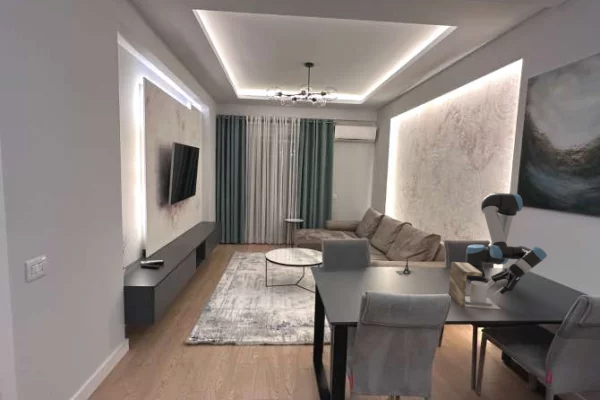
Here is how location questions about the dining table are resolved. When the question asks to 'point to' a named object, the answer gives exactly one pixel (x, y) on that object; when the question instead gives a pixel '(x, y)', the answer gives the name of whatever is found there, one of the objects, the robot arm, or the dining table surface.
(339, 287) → the dining table surface
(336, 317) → the dining table surface
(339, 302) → the dining table surface
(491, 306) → the seat plate
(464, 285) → the overhang shelf
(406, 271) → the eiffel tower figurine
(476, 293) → the mug
